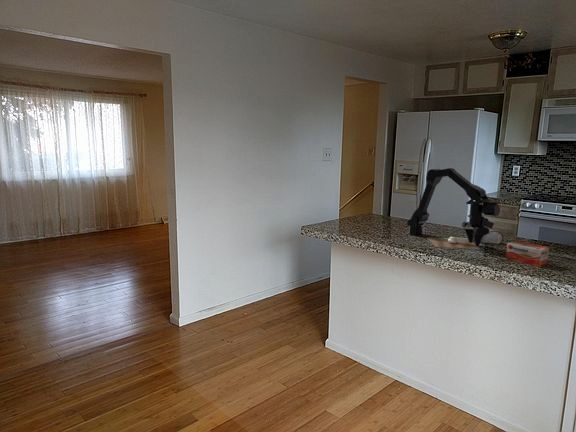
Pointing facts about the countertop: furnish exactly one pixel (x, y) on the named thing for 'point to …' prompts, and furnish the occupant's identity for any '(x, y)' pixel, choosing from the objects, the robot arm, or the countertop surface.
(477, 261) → the countertop surface
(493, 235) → the tin
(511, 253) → the medicine box
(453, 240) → the peg
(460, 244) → the brown board
